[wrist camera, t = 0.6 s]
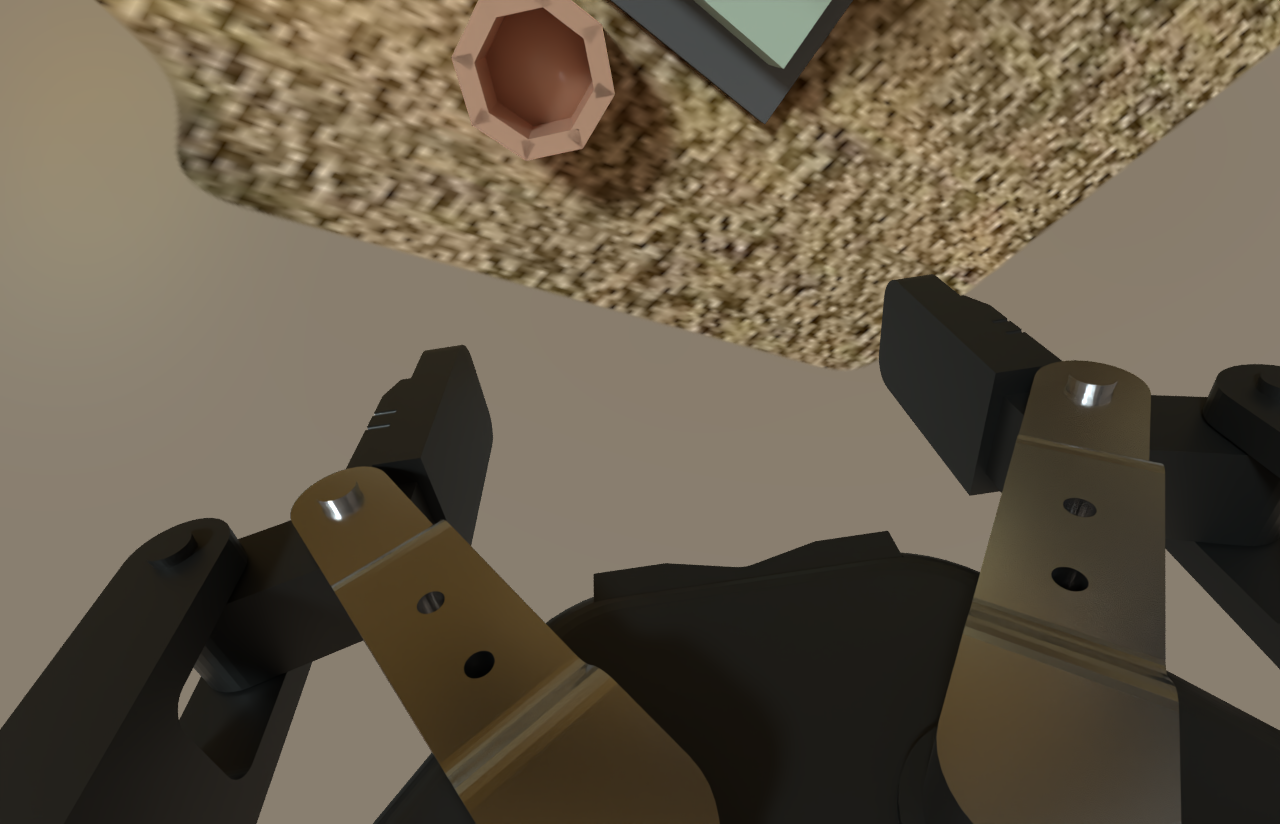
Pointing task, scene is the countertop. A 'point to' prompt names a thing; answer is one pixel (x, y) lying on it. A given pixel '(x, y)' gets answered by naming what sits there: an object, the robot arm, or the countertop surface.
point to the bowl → (534, 74)
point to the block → (768, 24)
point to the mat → (729, 50)
